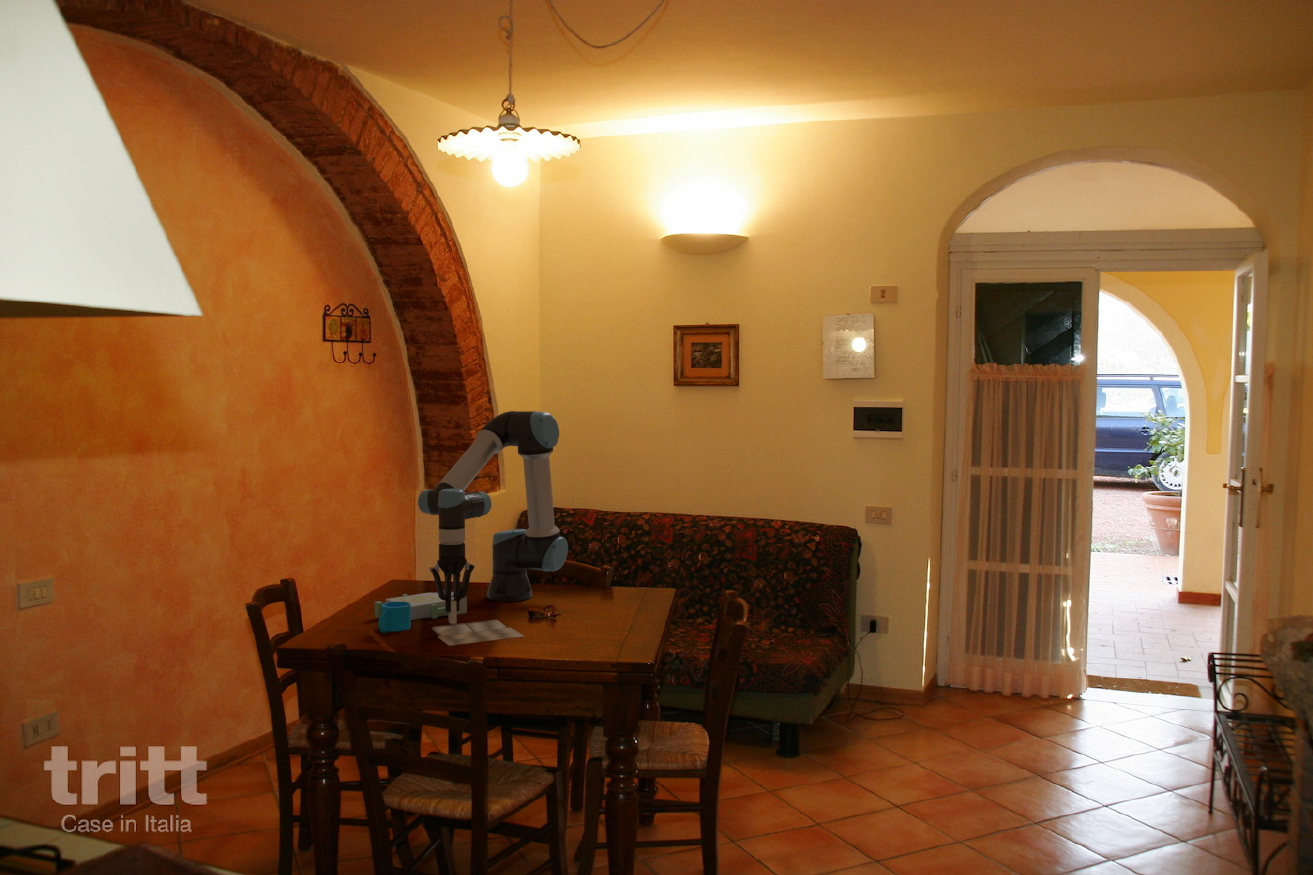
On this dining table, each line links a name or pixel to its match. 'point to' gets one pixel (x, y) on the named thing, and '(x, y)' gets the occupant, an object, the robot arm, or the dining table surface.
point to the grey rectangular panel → (485, 625)
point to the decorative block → (424, 605)
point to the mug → (395, 616)
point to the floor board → (479, 636)
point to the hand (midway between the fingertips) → (452, 622)
